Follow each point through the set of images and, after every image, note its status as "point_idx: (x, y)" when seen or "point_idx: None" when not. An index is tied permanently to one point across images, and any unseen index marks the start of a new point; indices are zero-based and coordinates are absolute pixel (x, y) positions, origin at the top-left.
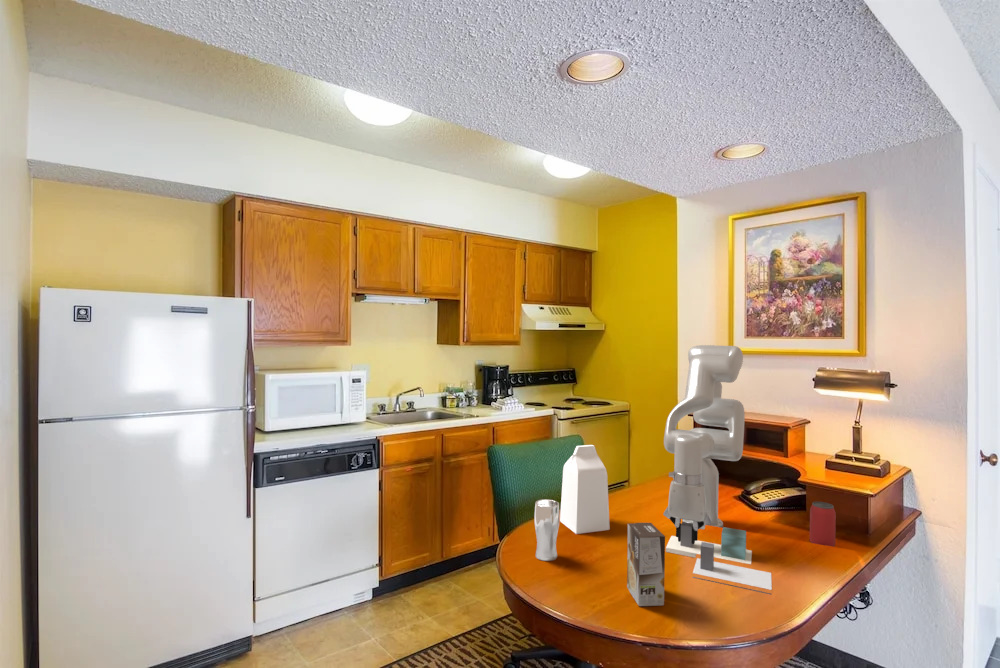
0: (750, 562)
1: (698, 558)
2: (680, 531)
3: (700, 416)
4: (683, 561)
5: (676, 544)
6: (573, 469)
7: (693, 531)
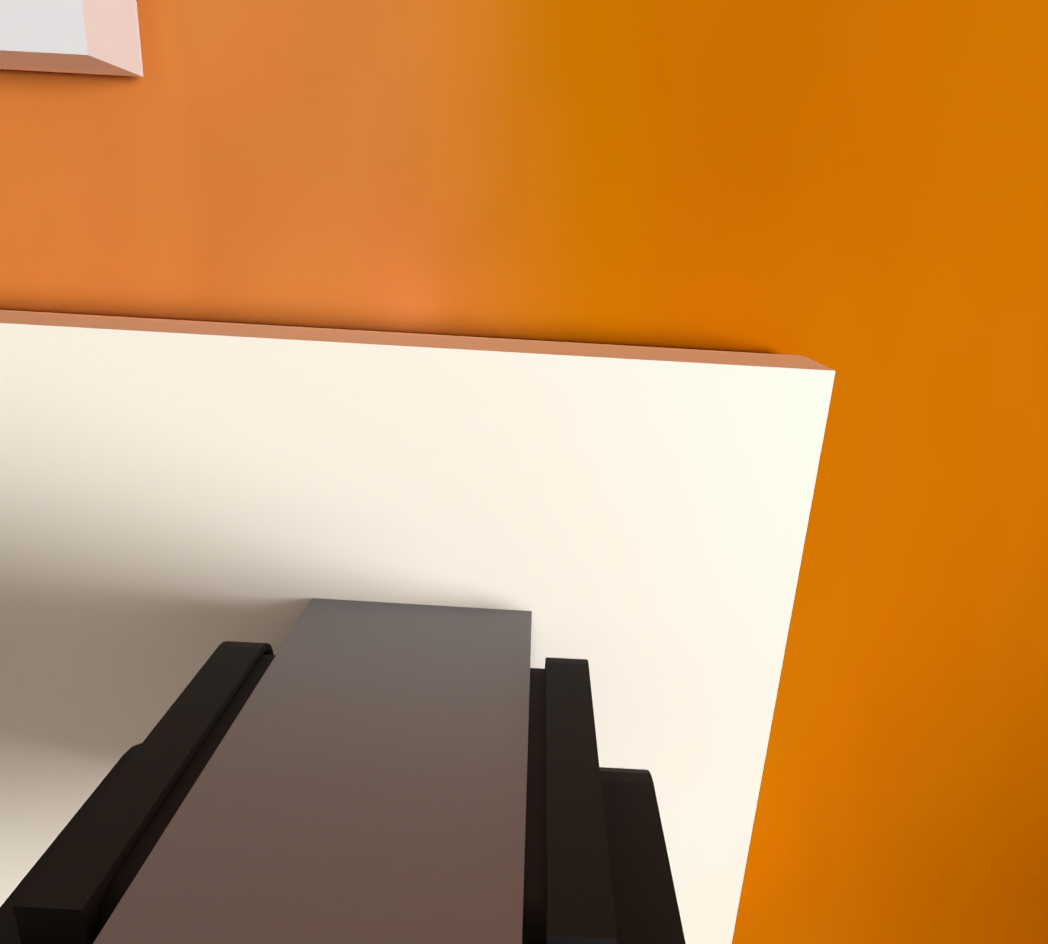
0: None
1: (56, 47)
2: (531, 846)
3: None
4: (425, 65)
5: (614, 635)
6: None
7: (54, 881)
